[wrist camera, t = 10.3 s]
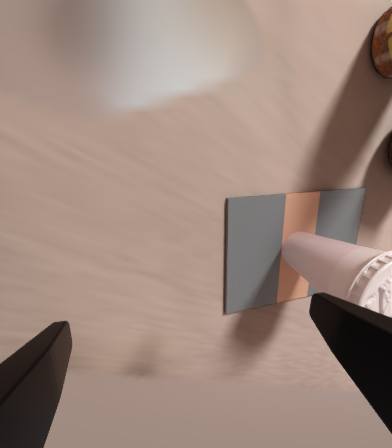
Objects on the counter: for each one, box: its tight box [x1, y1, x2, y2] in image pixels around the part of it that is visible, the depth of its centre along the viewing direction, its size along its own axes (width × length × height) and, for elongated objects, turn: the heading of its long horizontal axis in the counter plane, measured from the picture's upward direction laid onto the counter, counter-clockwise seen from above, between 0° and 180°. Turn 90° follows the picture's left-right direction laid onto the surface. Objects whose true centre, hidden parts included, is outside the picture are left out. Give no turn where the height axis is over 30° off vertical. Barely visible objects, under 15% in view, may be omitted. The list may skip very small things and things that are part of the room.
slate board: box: [225, 188, 366, 314], centre depth 25 cm, size 16×12×1 cm
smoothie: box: [282, 231, 392, 318], centre depth 18 cm, size 6×6×14 cm
